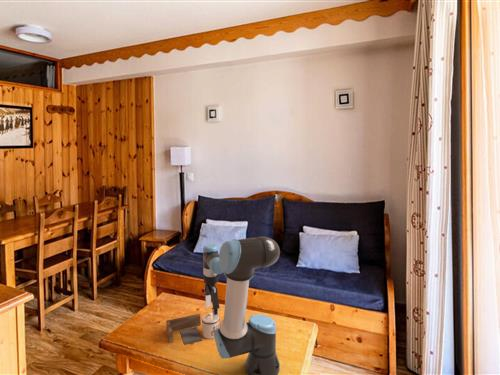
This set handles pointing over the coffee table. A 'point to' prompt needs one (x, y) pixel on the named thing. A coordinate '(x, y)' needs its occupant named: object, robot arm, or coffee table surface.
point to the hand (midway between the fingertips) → (211, 313)
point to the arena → (183, 323)
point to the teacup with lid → (209, 326)
